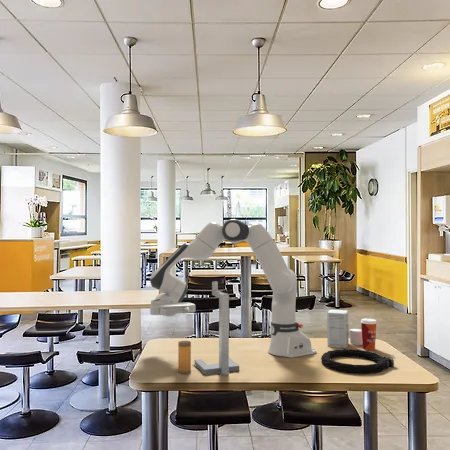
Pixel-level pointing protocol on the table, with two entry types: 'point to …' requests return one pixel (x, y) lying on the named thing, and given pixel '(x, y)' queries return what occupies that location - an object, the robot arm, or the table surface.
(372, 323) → the paper cup
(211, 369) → the grey u-shaped bracket
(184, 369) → the orange brown canister
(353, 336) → the white short cylinder
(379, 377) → the table surface
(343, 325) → the supplement box
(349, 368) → the cable lock
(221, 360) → the hook stand
